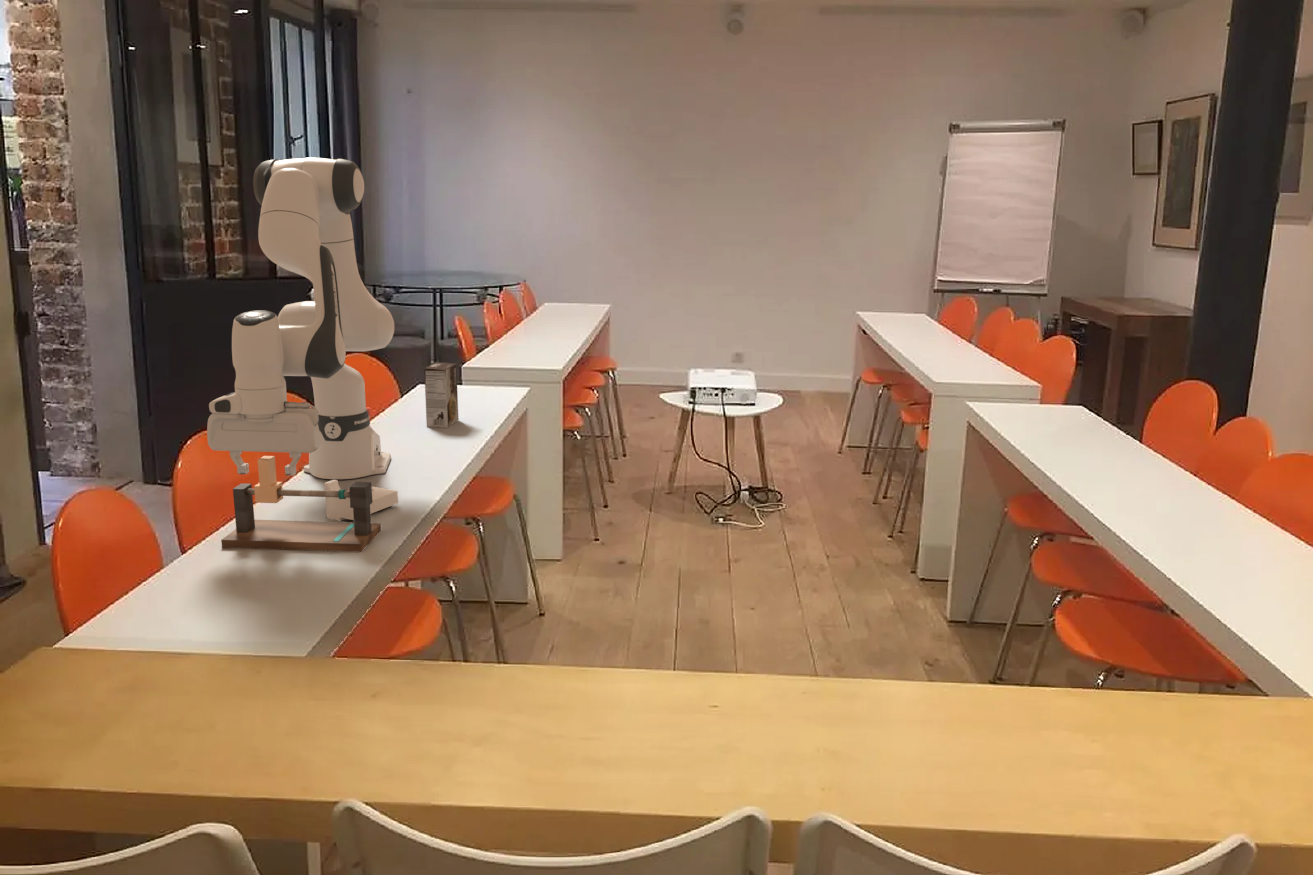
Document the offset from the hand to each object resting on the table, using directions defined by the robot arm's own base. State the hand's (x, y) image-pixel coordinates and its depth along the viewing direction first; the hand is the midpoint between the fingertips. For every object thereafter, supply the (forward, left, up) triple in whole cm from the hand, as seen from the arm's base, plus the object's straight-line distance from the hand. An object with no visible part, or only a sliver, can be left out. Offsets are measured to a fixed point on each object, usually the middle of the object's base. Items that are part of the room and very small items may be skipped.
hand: (267, 474), depth 205 cm
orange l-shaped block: (0, 0, -5) cm, 5 cm away
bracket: (-18, +12, -13) cm, 25 cm away
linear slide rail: (0, +6, -13) cm, 14 cm away
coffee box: (-96, +8, -13) cm, 97 cm away
